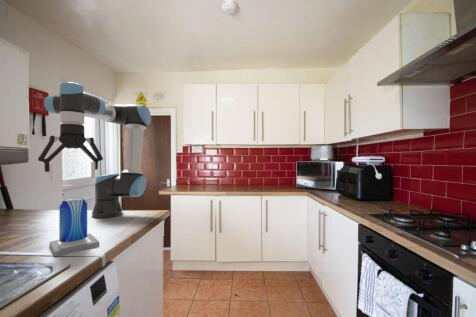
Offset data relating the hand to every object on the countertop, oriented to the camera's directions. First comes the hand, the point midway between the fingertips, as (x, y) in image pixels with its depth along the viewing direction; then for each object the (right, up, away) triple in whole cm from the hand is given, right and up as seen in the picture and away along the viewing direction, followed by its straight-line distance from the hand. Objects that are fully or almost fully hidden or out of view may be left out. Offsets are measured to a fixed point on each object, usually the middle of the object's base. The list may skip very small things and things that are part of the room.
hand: (73, 179), depth 89 cm
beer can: (+3, -23, -3) cm, 23 cm away
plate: (+3, -24, -3) cm, 25 cm away
